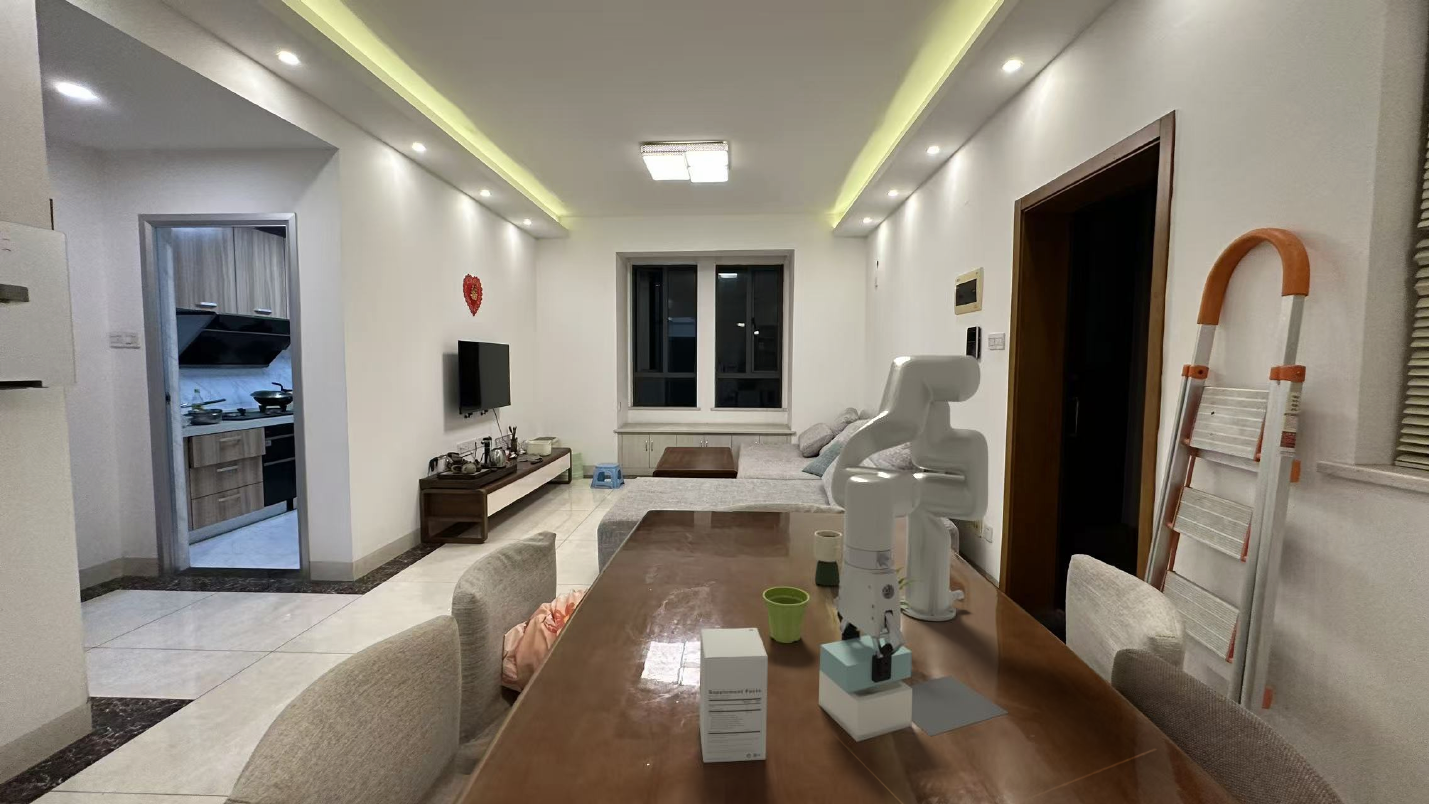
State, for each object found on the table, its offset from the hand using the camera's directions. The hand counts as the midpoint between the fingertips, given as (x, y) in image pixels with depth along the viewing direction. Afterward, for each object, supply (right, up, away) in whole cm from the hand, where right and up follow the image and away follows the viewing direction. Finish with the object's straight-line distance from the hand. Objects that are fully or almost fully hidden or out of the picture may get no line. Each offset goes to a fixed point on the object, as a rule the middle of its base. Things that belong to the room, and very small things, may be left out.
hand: (865, 666), depth 88 cm
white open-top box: (0, -8, 0) cm, 8 cm away
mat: (+14, -8, +4) cm, 16 cm away
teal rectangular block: (0, -1, 0) cm, 1 cm away
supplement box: (-21, -8, -6) cm, 24 cm away
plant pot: (-9, -7, +27) cm, 29 cm away
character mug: (+5, -5, +57) cm, 57 cm away
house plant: (+10, -7, +23) cm, 26 cm away
